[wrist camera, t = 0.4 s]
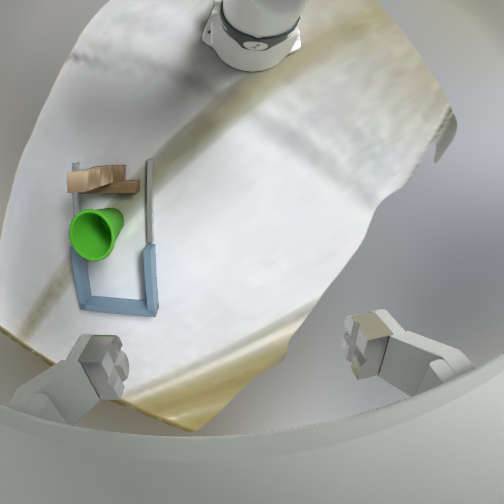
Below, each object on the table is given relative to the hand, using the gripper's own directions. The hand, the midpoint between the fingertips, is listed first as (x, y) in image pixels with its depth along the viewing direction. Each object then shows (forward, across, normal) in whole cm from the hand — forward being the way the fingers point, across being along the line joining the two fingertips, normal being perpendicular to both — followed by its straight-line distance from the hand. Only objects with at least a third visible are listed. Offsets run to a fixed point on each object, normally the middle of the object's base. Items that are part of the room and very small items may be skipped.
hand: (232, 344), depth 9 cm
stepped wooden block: (+45, +22, -4) cm, 50 cm away
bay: (+45, +25, +17) cm, 54 cm away
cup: (+46, +23, +5) cm, 51 cm away
